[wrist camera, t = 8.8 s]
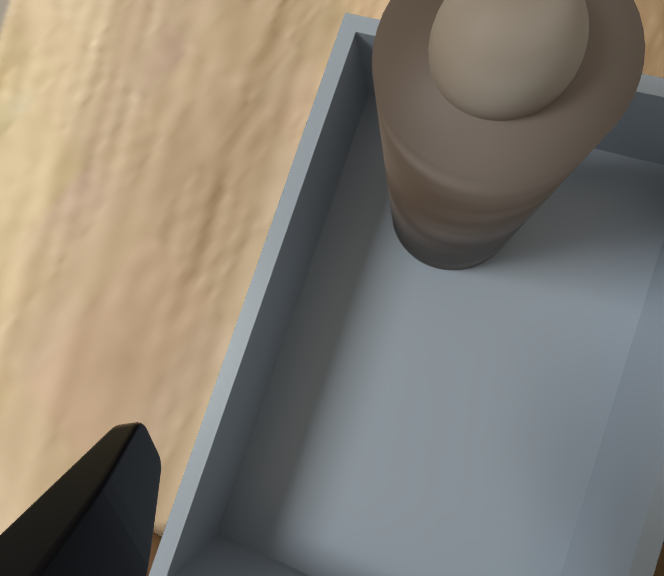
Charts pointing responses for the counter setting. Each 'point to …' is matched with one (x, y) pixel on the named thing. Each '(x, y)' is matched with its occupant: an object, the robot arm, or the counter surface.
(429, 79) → the pepper mill
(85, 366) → the counter surface
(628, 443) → the tote
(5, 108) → the counter surface
